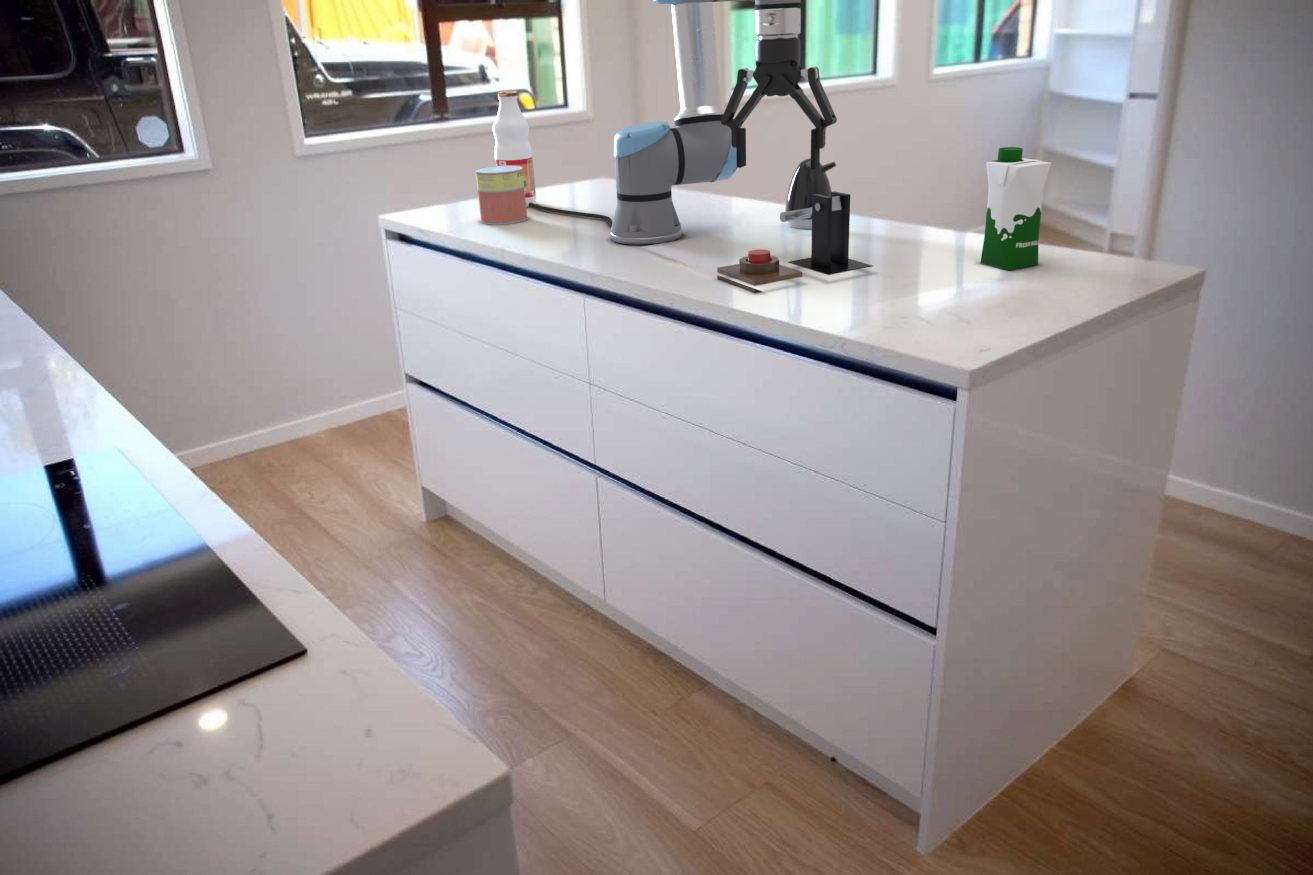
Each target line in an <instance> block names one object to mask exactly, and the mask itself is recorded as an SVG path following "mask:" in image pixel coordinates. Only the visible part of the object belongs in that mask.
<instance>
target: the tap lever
mask: <svg viewBox="0 0 1313 875" xmlns="http://www.w3.org/2000/svg"><path fill="white" fill-rule="evenodd" d="M838 210H842V207H841V201H840V196H836V197H832V212H835V211H838ZM811 214H812V207H811V208H806V209H800V210H793V211H787V212H785V211H782V212H780V214H779V220H780V221H781V222H782V223H786V222H787V223H788V221H793V220H799V219H805V218H810V217H811Z"/></svg>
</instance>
